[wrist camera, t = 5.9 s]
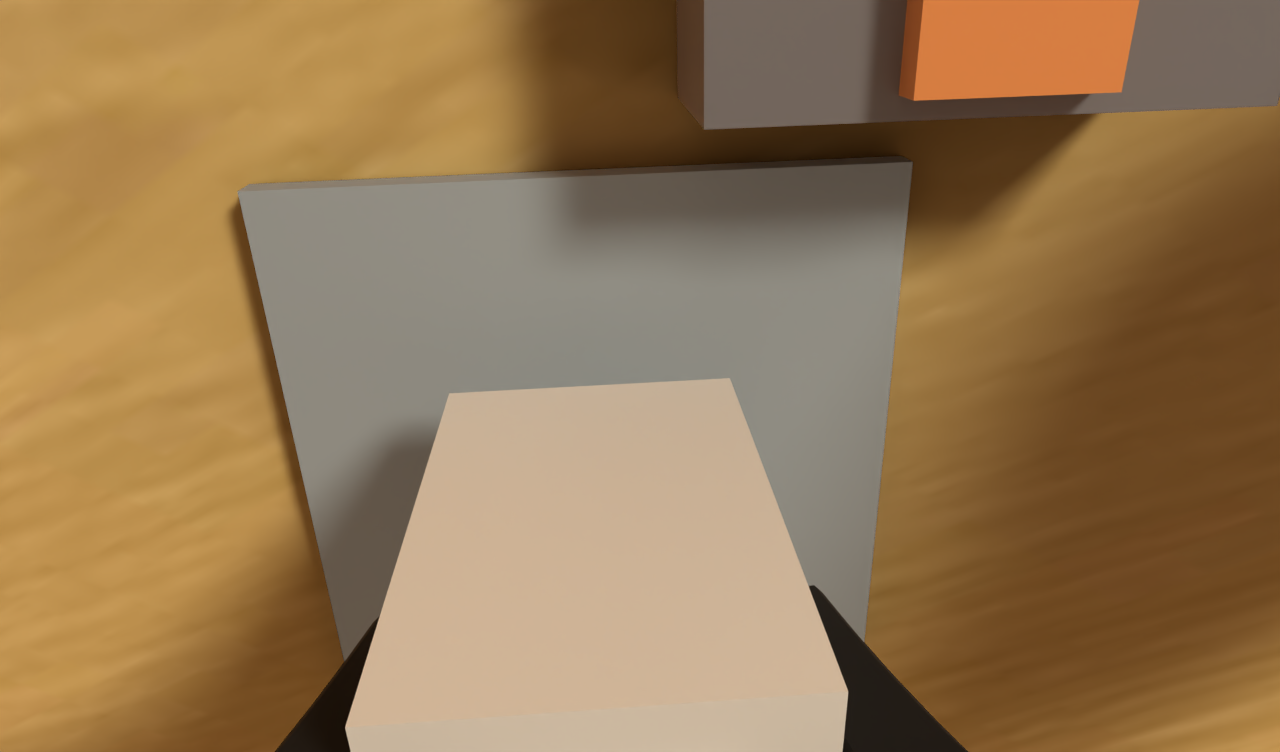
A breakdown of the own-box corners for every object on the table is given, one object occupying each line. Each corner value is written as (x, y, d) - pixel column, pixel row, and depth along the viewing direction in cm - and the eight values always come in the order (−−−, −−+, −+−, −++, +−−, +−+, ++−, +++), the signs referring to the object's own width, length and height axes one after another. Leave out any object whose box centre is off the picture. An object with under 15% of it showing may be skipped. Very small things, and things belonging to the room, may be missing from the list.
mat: (901, 155, 13) (912, 161, 13) (853, 651, 18) (861, 669, 17) (249, 184, 13) (238, 191, 13) (359, 685, 17) (354, 704, 17)
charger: (729, 378, 12) (855, 710, 7) (725, 600, 14) (824, 1014, 8) (449, 393, 12) (338, 749, 7) (479, 616, 14) (412, 1050, 8)
